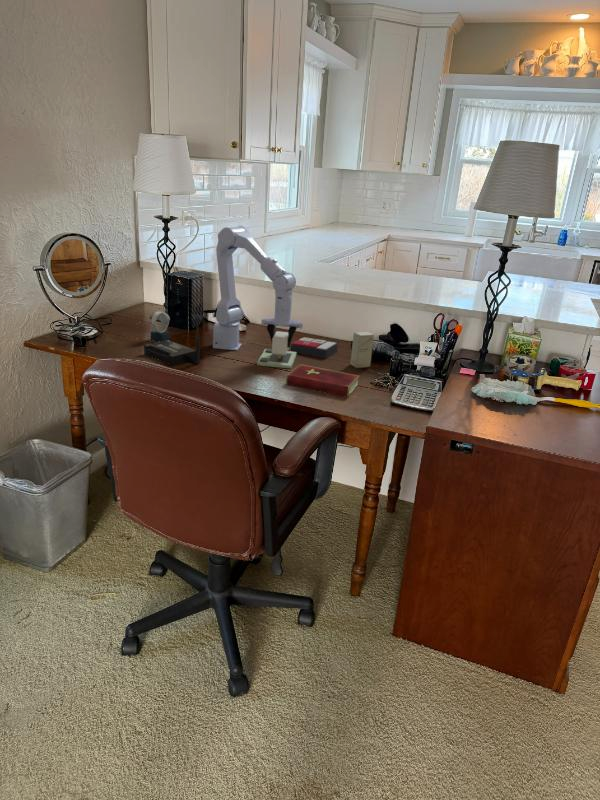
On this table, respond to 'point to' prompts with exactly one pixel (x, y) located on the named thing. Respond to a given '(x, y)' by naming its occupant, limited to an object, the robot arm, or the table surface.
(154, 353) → the grey and black stand
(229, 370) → the table surface
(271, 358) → the pcb board
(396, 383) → the table surface
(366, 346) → the skincare box
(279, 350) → the block
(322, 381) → the hardcover book
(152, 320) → the watch
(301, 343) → the calculator
